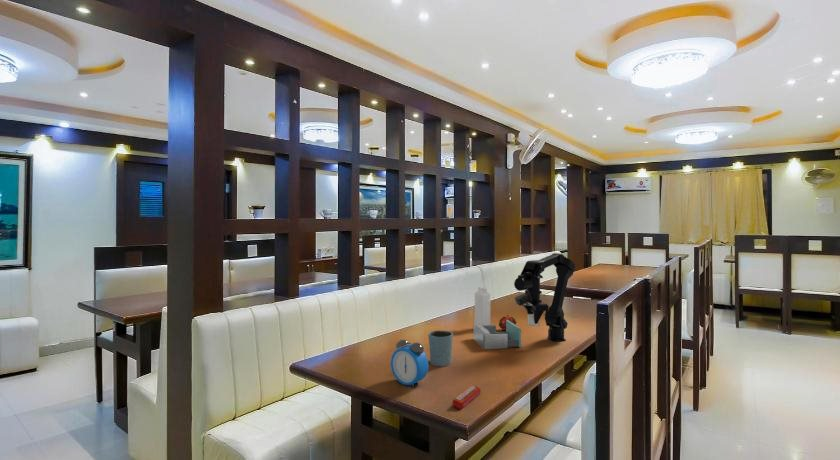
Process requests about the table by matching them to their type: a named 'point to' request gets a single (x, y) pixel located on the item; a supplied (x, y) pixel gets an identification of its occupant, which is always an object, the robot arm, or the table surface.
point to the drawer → (512, 334)
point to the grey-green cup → (440, 347)
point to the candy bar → (466, 396)
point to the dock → (489, 337)
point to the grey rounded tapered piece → (532, 320)
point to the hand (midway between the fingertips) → (533, 322)
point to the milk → (482, 307)
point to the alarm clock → (409, 363)
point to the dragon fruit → (503, 322)
